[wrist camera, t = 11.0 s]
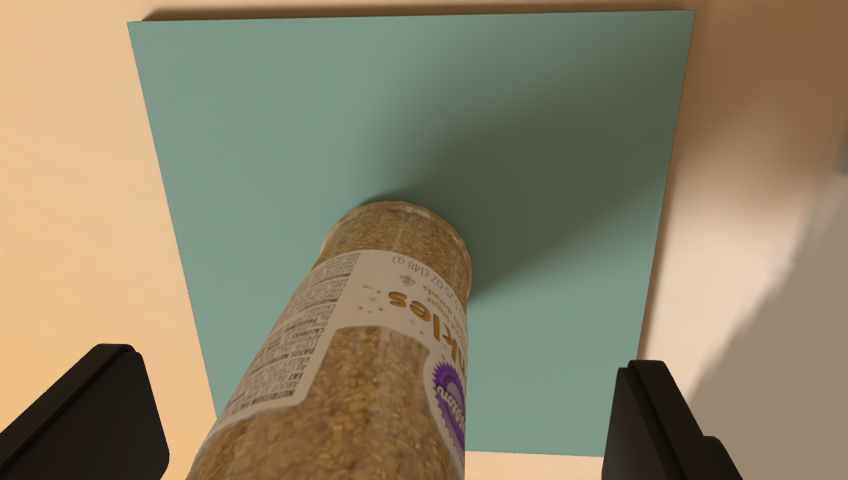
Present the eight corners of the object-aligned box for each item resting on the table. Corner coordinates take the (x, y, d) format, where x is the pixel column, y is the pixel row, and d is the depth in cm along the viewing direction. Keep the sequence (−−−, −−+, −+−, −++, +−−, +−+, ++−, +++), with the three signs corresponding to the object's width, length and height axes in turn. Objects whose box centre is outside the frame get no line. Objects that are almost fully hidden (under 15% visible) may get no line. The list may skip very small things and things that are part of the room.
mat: (228, 427, 20) (221, 439, 19) (139, 21, 14) (126, 21, 14) (615, 444, 19) (619, 457, 18) (686, 10, 13) (695, 10, 13)
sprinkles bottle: (501, 286, 16) (601, 1221, 4) (380, 353, 17) (162, 1204, 5) (411, 162, 15) (113, 988, 2) (288, 245, 16) (-304, 1046, 4)
